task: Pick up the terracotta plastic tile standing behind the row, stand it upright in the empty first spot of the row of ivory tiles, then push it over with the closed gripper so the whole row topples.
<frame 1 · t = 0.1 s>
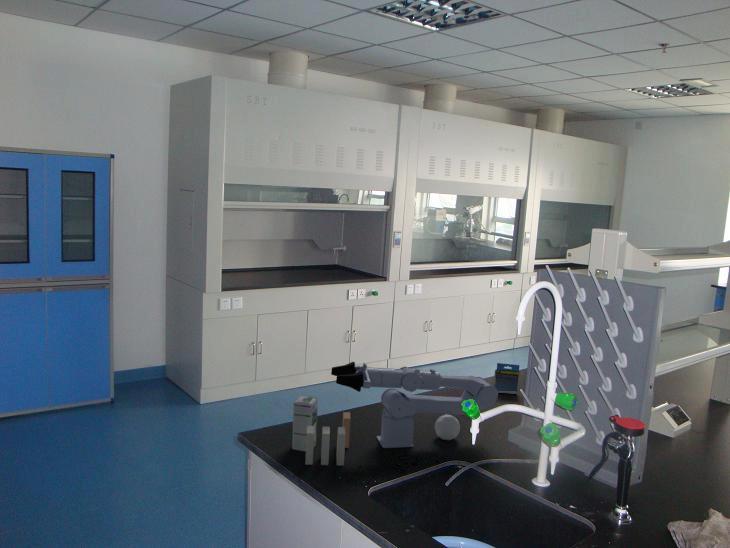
hand: (334, 375, 171), 22 cm above the counter, tool horizontal, fingers open, 7 cm apart
syrup box: (304, 447, 172), on the counter
tile 3: (324, 460, 164), on the counter
tile 4: (309, 460, 164), on the counter
ball: (446, 439, 184), on the counter
tile 2: (340, 461, 164), on the counter
label tape box: (504, 393, 231), on the counter
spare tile: (345, 444, 175), on the counter
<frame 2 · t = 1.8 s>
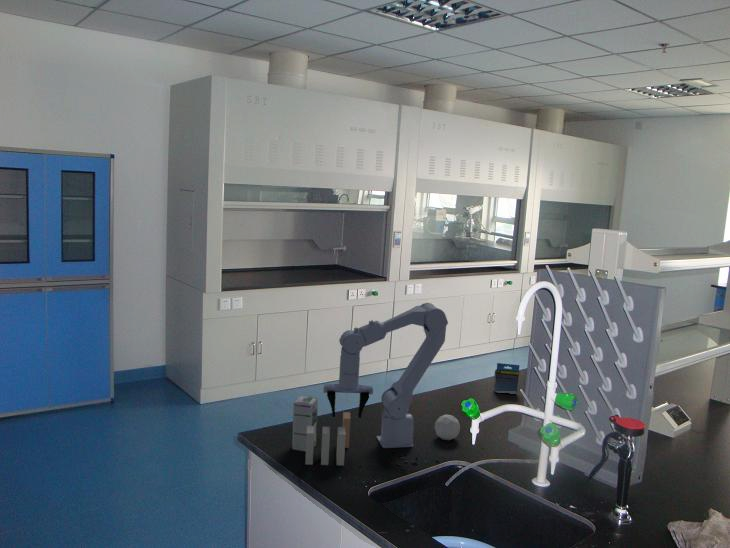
hand: (346, 416, 174), 9 cm above the counter, tool pointing down, fingers open, 7 cm apart
nothing on the counter moved.
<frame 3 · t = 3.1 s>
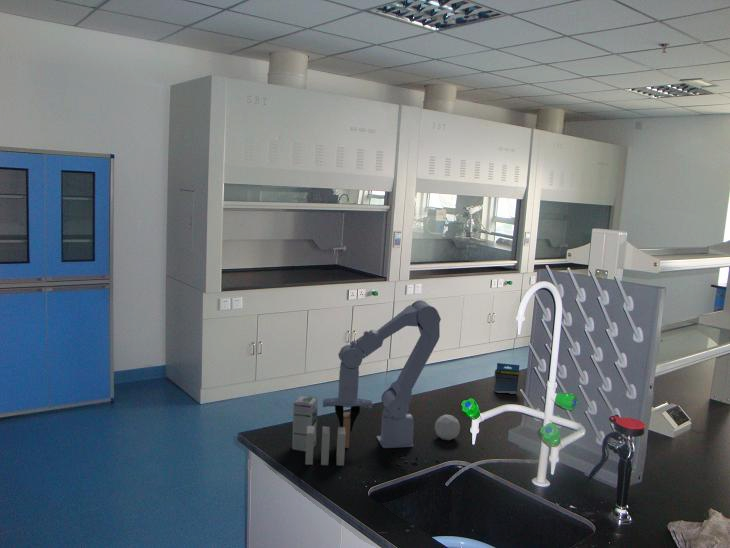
hand: (345, 430, 175), 4 cm above the counter, tool pointing down, fingers closed on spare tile, 2 cm apart
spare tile: (345, 444, 175), on the counter, touching gripper
everything else where it was.
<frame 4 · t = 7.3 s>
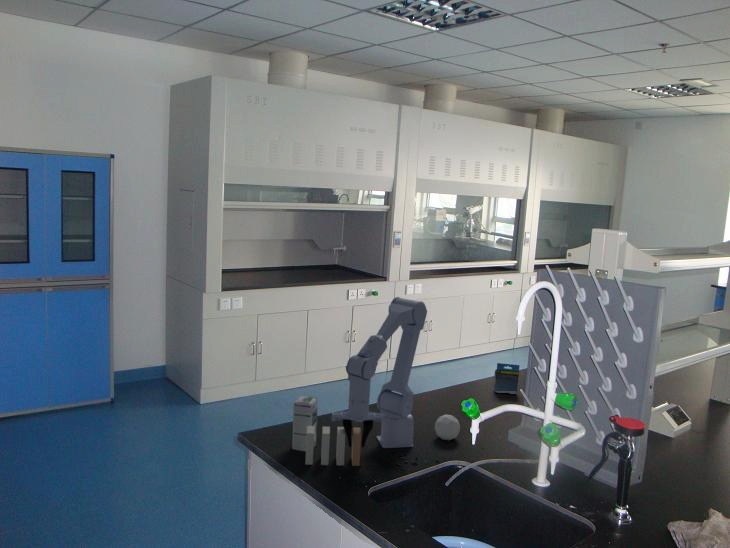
hand: (356, 445, 164), 5 cm above the counter, tool pointing down, fingers open, 3 cm apart
tile 2: (340, 461, 164), on the counter, touching gripper
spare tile: (355, 461, 164), on the counter
everything else where it was.
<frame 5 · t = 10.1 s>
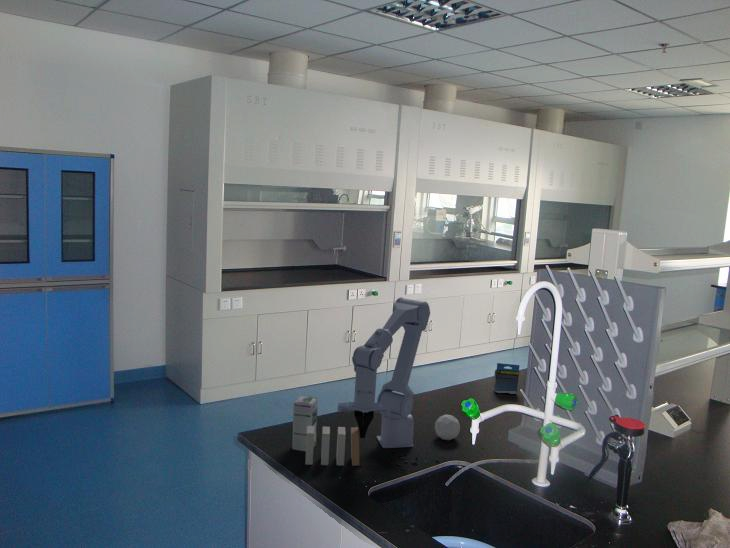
hand: (362, 436, 164), 7 cm above the counter, tool pointing down, fingers closed
tile 2: (340, 461, 164), on the counter
everything else where it was.
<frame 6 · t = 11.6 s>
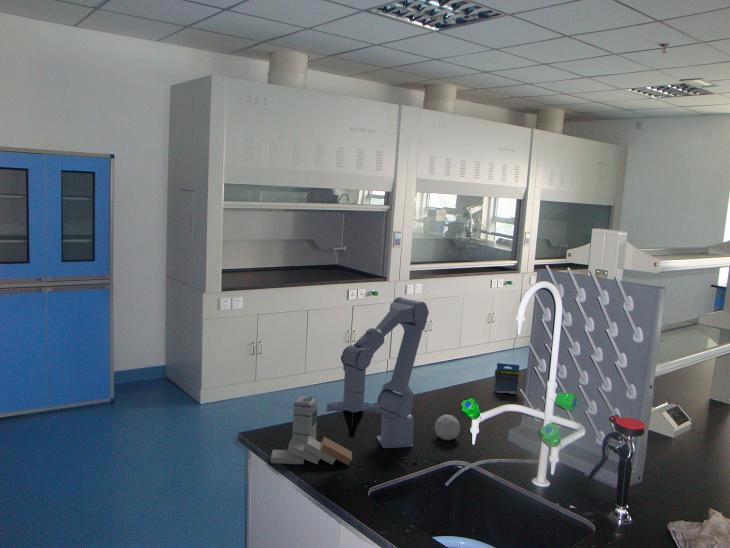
hand: (351, 436, 163), 7 cm above the counter, tool pointing down, fingers closed
tile 3: (319, 457, 164), point 1 cm above the counter, tilted 68°, touching tile 2
tile 4: (304, 458, 164), on the counter, tilted 90°
tile 2: (334, 457, 164), point 1 cm above the counter, tilted 62°, touching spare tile, tile 3
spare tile: (350, 458, 164), point 1 cm above the counter, tilted 62°, touching tile 2
everything else where it was.
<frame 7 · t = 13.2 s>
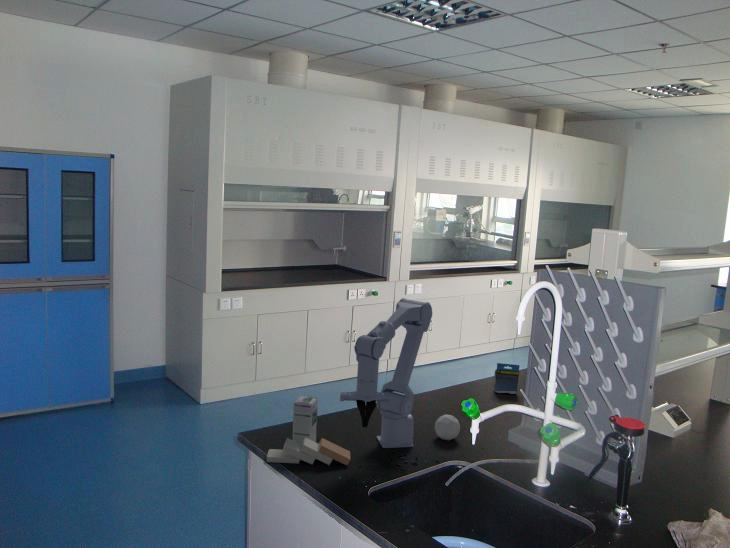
hand: (364, 425, 164), 10 cm above the counter, tool pointing down, fingers closed
tile 3: (314, 457, 164), point 1 cm above the counter, tilted 69°, touching tile 2, tile 4
tile 4: (300, 457, 164), on the counter, tilted 90°, touching tile 3
tile 2: (331, 458, 164), point 1 cm above the counter, tilted 65°, touching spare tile, tile 3
everything else where it was.
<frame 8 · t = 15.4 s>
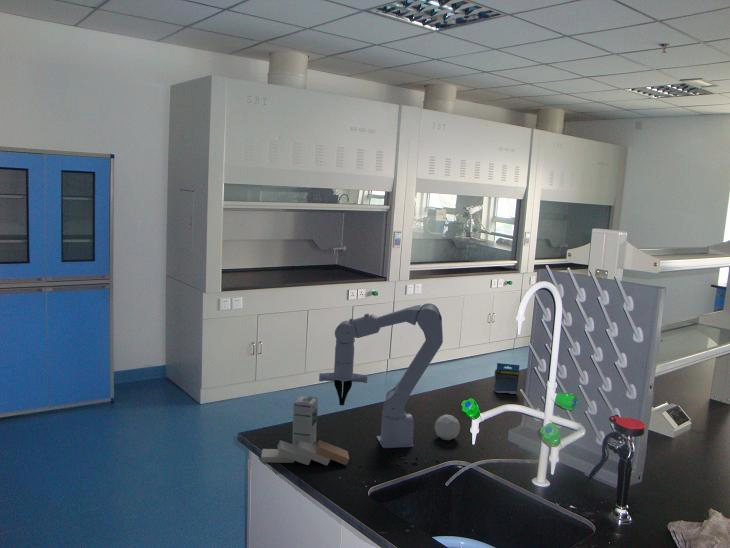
hand: (341, 404, 179), 10 cm above the counter, tool pointing down, fingers closed
tile 3: (309, 457, 163), point 1 cm above the counter, tilted 68°, touching tile 2
tile 4: (294, 456, 164), on the counter, tilted 90°
at the end: tile 4 tilted 90°; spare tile tilted 67°; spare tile 5.3 cm from the tile 2 (horizontally) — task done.
